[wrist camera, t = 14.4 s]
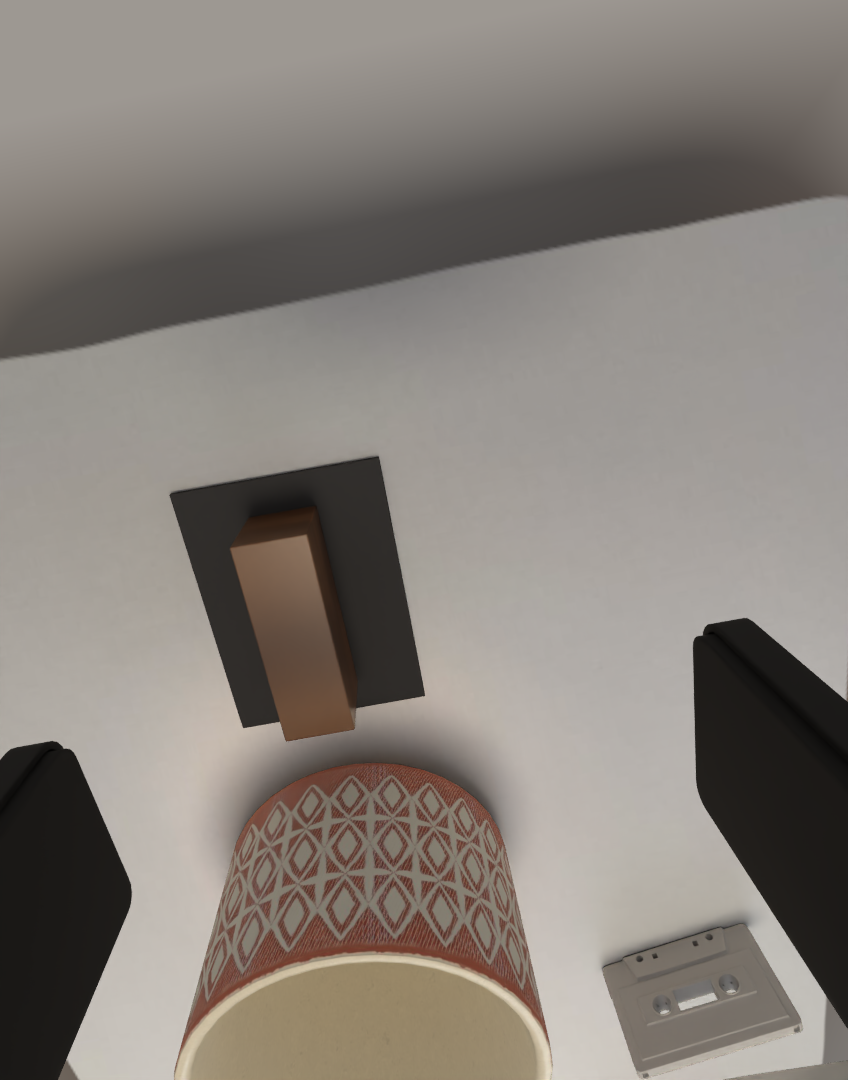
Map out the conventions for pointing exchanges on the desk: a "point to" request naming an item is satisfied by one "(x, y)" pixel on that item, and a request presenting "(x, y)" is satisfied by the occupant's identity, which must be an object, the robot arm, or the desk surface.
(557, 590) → the desk surface
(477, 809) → the planter
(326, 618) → the bar
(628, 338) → the desk surface
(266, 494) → the black mat
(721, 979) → the cassette
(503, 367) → the desk surface
